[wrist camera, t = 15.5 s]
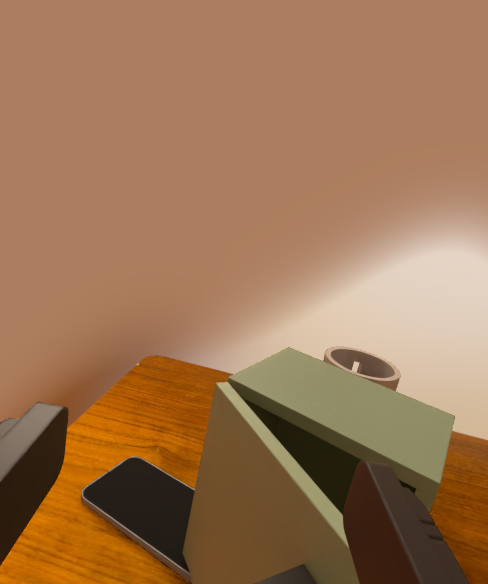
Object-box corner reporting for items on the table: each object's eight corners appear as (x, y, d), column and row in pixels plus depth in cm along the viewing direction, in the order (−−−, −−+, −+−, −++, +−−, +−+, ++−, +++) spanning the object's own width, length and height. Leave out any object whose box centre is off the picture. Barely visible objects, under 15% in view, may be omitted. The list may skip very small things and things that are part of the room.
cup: (322, 470, 45) (349, 378, 42) (293, 423, 53) (313, 344, 50) (387, 469, 48) (416, 382, 45) (349, 424, 56) (372, 349, 53)
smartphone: (134, 453, 41) (258, 527, 35) (133, 460, 41) (256, 535, 35) (75, 493, 35) (214, 593, 28) (74, 501, 35) (212, 602, 28)
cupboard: (362, 689, 25) (440, 483, 21) (192, 549, 32) (228, 377, 28) (394, 577, 33) (455, 415, 29) (254, 486, 40) (288, 346, 36)
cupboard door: (153, 909, 16) (222, 627, 12) (99, 582, 28) (125, 389, 24) (294, 800, 20) (380, 557, 16) (192, 552, 32) (227, 381, 28)
